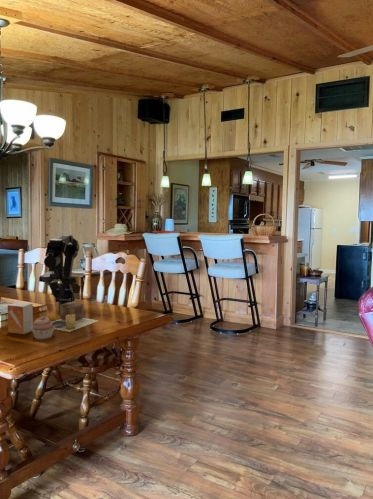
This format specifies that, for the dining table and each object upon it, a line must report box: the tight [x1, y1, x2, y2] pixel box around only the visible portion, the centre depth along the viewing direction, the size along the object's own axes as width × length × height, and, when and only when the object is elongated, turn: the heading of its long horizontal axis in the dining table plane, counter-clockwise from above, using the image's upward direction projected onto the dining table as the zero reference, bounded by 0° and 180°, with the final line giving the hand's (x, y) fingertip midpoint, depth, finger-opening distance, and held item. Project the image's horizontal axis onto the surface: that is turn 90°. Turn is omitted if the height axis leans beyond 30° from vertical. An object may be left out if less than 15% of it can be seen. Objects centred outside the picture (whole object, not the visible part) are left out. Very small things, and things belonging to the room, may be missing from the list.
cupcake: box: [31, 315, 55, 340], centre depth 169 cm, size 9×9×10 cm
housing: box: [59, 301, 84, 321], centre depth 195 cm, size 8×7×7 cm
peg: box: [66, 314, 75, 330], centre depth 180 cm, size 4×4×6 cm
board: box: [51, 317, 100, 333], centre depth 189 cm, size 18×20×5 cm
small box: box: [7, 301, 34, 335], centre depth 176 cm, size 8×6×13 cm
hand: (57, 297), depth 199 cm, fingers open, 4 cm apart
